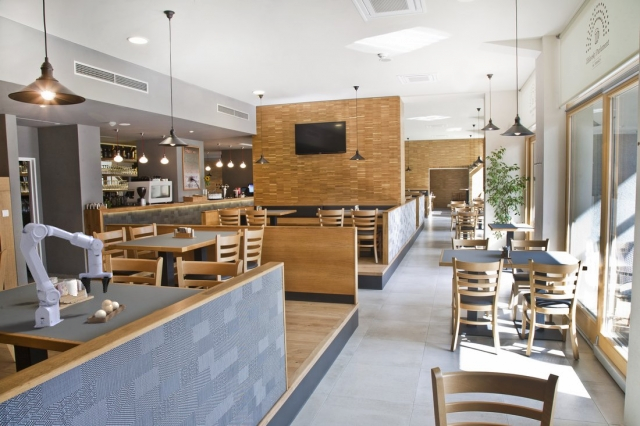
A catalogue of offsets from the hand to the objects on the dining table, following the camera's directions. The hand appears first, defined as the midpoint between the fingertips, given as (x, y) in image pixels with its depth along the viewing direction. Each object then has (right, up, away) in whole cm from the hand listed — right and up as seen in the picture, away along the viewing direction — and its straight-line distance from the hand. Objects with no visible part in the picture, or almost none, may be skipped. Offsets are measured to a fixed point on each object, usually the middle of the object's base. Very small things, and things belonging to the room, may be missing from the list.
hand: (96, 292), depth 206 cm
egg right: (+8, -9, +1) cm, 12 cm away
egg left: (+8, -10, -13) cm, 18 cm away
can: (-24, -9, +21) cm, 33 cm away
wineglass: (-36, -9, +24) cm, 44 cm away
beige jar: (+8, -9, -6) cm, 14 cm away
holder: (+8, -10, -6) cm, 14 cm away
